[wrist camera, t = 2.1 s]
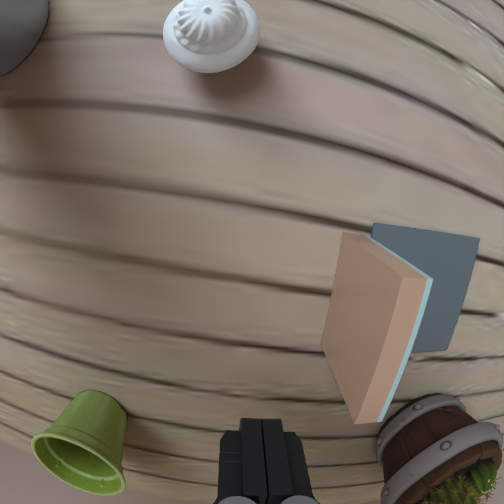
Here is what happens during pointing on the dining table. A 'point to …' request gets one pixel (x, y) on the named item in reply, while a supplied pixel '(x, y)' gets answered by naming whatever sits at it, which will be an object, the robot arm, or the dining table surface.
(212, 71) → the white citrus juicer
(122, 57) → the dining table surface
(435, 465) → the flowerpot
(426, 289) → the tile
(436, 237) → the mat
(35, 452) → the plant pot
